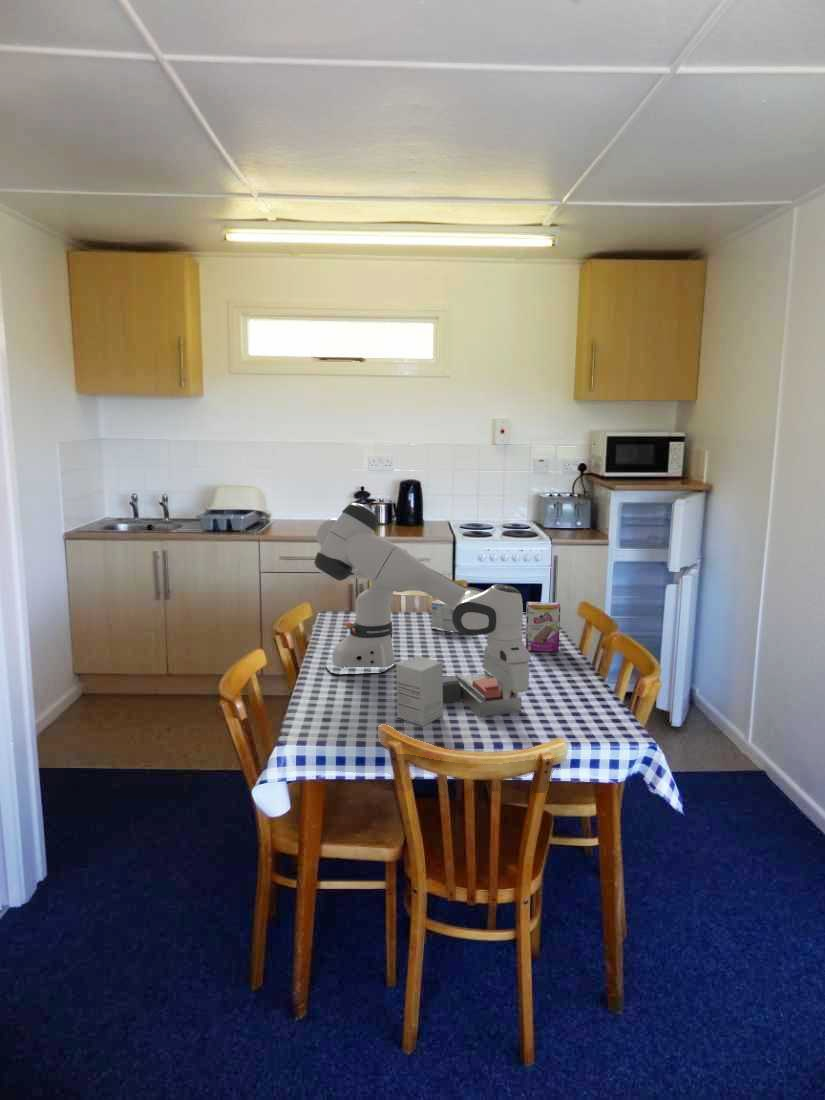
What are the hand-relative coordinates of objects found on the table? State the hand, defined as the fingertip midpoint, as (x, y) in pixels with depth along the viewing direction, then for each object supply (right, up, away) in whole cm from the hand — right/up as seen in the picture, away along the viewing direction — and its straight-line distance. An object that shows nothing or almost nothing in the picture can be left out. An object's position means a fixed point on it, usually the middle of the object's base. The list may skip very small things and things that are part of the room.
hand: (504, 697), depth 198 cm
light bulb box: (-11, +9, +85) cm, 86 cm away
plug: (-14, -3, +14) cm, 20 cm away
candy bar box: (+20, +4, +58) cm, 62 cm away
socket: (-4, -3, +13) cm, 14 cm away
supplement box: (-22, -6, +1) cm, 23 cm away
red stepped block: (-3, 0, +8) cm, 8 cm away
